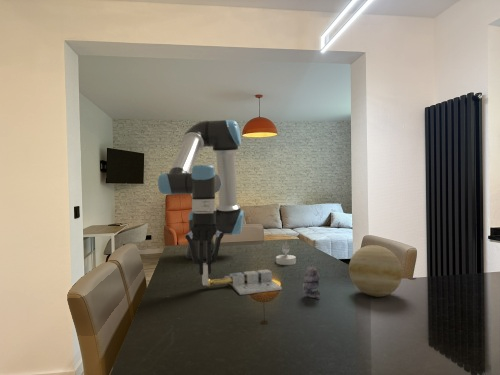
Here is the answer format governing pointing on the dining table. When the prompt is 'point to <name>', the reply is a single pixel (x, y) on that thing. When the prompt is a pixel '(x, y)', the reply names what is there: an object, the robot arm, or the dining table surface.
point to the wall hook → (285, 256)
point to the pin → (222, 281)
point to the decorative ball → (375, 270)
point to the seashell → (311, 282)
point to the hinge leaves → (253, 282)
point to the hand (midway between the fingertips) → (205, 283)
